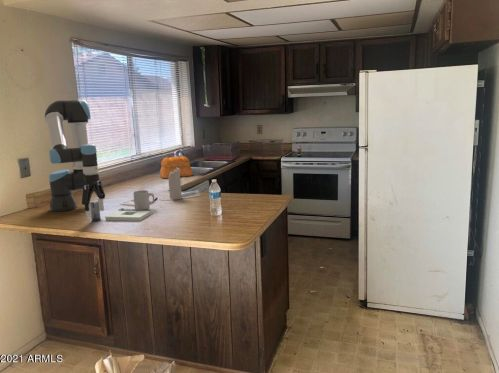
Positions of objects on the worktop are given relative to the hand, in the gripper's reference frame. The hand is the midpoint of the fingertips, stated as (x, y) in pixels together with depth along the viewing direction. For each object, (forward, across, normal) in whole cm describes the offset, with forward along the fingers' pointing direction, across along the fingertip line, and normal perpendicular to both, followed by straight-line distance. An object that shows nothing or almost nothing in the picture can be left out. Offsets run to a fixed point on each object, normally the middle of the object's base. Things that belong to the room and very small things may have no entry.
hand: (95, 213), depth 228 cm
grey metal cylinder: (+4, 0, 0) cm, 4 cm away
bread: (+4, +138, +6) cm, 138 cm away
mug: (+4, +25, -17) cm, 31 cm away
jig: (+4, +9, -15) cm, 18 cm away
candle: (+4, +53, -22) cm, 58 cm away
